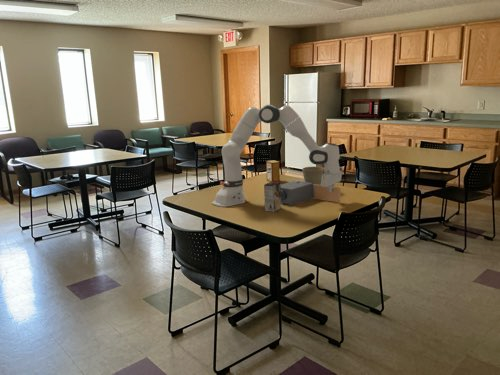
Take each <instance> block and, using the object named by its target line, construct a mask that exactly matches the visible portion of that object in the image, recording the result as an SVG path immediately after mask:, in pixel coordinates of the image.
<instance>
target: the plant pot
mask: <svg viewBox="0 0 500 375" xmlns="http://www.w3.org/2000/svg"><path fill="white" fill-rule="evenodd" d="M301 170H302V175H303V181H304V182H309V183H313V184H317V185H321V180H322V175H323V174H324V167H322V166H306V167H303V168H302V169H301Z"/></svg>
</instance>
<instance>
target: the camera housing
mask: <svg viewBox="0 0 500 375" xmlns="http://www.w3.org/2000/svg"><path fill="white" fill-rule="evenodd" d="M280 187H281V204H284V205H289V206H293V205H297V204H299V203H303V202H306V201H309V200H311V199H314V198H313V183H309V182H305V181H304V180H303V181H302V180H292V181H289V182H286V183H282V184H281V183H280Z"/></svg>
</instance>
